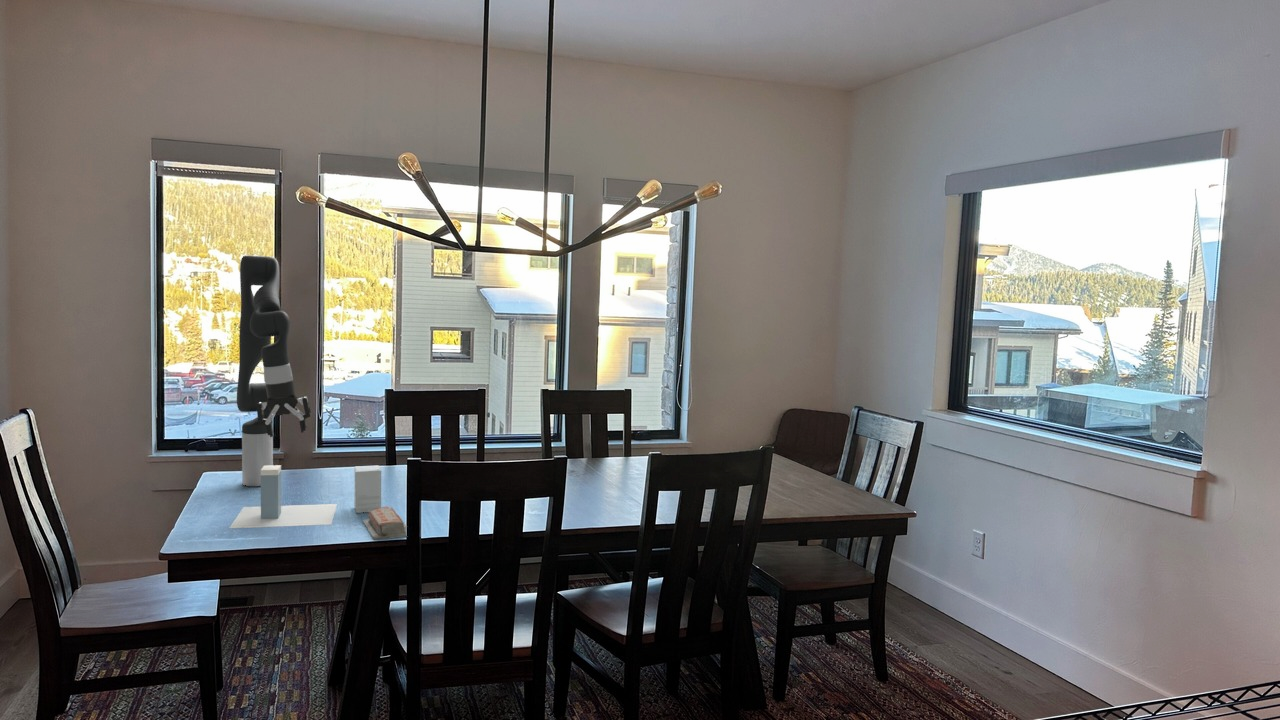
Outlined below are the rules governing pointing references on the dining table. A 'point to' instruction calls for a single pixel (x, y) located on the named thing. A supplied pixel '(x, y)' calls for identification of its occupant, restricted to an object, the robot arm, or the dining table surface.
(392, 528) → the packaged product
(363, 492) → the supplement box
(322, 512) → the mat
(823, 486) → the dining table surface
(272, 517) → the block
